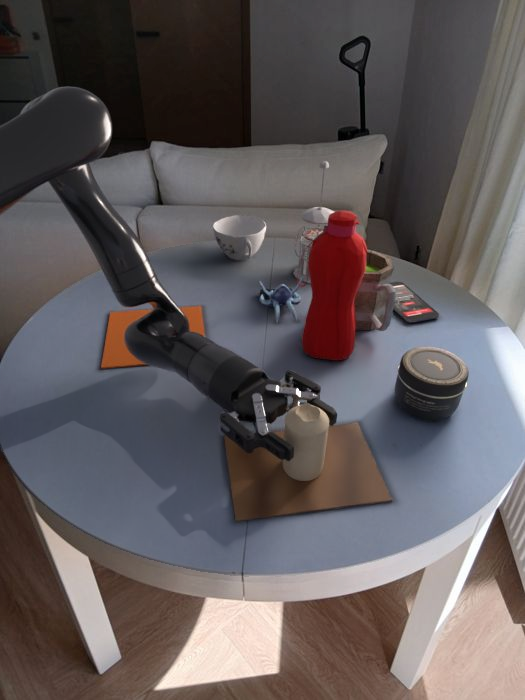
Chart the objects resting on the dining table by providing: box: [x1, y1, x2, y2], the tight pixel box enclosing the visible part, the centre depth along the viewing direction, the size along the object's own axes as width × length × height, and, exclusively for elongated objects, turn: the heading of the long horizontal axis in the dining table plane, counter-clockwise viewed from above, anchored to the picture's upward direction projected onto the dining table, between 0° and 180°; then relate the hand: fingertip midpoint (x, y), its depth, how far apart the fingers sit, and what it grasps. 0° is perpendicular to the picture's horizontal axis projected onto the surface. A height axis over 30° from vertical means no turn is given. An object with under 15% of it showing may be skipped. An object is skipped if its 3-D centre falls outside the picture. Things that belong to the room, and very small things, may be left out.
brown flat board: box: [223, 422, 393, 522], centre depth 66 cm, size 20×14×1 cm
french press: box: [293, 160, 335, 284], centre depth 105 cm, size 10×12×25 cm
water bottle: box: [296, 210, 368, 361], centre depth 82 cm, size 9×11×25 cm
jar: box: [394, 346, 470, 423], centre depth 75 cm, size 10×10×8 cm
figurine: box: [258, 277, 303, 324], centre depth 99 cm, size 10×12×8 cm
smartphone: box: [386, 281, 440, 324], centre depth 102 cm, size 7×1×15 cm
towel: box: [100, 305, 206, 370], centre depth 92 cm, size 18×18×1 cm
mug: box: [354, 249, 396, 332], centre depth 93 cm, size 16×11×12 cm
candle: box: [283, 402, 330, 481], centre depth 63 cm, size 6×6×10 cm
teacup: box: [212, 214, 267, 261], centre depth 117 cm, size 15×12×8 cm
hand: (314, 436), depth 61 cm, fingers open, 8 cm apart
